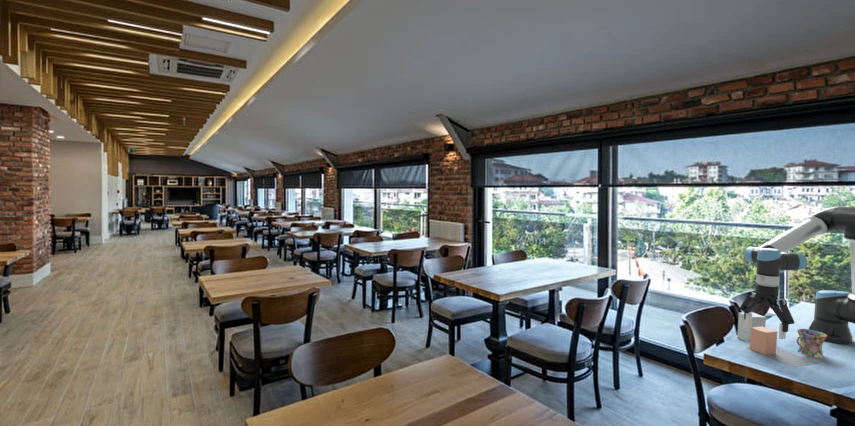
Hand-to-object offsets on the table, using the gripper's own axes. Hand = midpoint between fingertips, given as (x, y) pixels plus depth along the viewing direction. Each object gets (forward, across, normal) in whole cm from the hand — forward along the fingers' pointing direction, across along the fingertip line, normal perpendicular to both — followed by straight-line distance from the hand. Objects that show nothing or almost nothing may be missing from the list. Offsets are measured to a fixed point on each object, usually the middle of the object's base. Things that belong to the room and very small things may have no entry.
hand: (764, 332), depth 170 cm
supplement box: (+10, -13, +11) cm, 20 cm away
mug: (+10, +6, +16) cm, 20 cm away
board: (+10, +5, +3) cm, 11 cm away
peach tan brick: (+8, 0, 0) cm, 8 cm away
